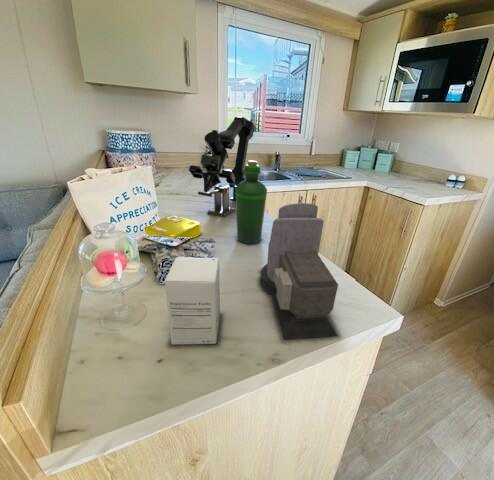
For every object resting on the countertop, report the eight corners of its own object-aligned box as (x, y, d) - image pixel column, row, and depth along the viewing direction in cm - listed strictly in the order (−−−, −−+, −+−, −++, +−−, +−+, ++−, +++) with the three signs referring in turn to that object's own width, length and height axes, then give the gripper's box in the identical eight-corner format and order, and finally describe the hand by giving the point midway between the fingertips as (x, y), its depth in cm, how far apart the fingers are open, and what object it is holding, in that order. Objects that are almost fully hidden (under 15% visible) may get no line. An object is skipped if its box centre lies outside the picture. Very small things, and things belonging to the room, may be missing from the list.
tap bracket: (223, 216, 120) (223, 190, 115) (208, 213, 123) (207, 187, 118) (234, 210, 129) (235, 185, 124) (220, 207, 131) (219, 182, 126)
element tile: (140, 237, 95) (138, 225, 93) (172, 224, 107) (171, 213, 105) (174, 248, 90) (173, 235, 88) (203, 233, 102) (202, 221, 100)
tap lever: (210, 198, 109) (210, 192, 108) (197, 196, 111) (197, 190, 110) (229, 193, 122) (229, 188, 121) (217, 191, 124) (217, 186, 123)
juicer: (256, 266, 83) (261, 187, 73) (307, 265, 86) (318, 188, 76) (274, 340, 57) (285, 231, 46) (346, 335, 60) (371, 231, 49)
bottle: (268, 237, 103) (274, 161, 91) (255, 248, 94) (259, 165, 82) (243, 231, 107) (246, 157, 95) (228, 241, 98) (229, 160, 86)
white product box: (180, 314, 62) (175, 255, 55) (220, 314, 62) (220, 256, 56) (169, 345, 53) (162, 280, 47) (216, 345, 54) (215, 281, 48)
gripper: (189, 144, 109) (175, 177, 104) (232, 149, 105) (220, 183, 100) (200, 161, 120) (187, 192, 114) (240, 167, 115) (228, 199, 110)
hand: (205, 191), depth 109 cm, fingers closed
